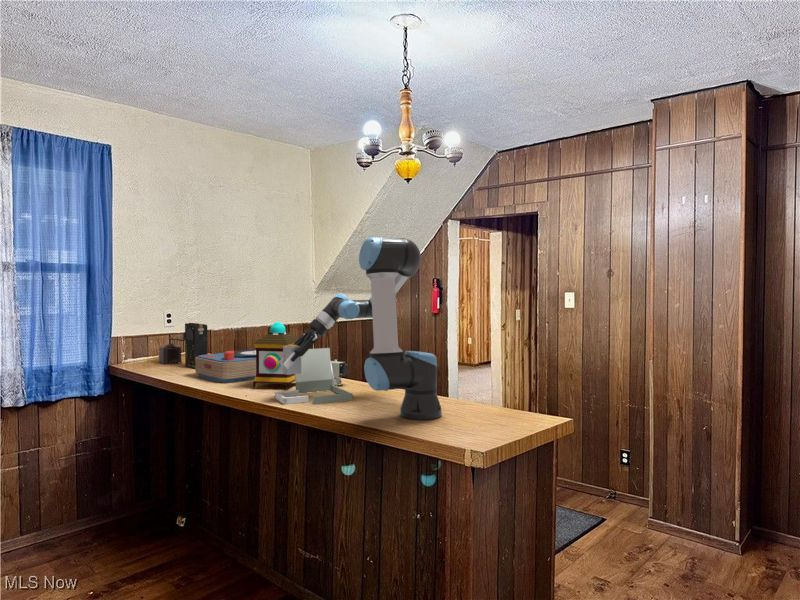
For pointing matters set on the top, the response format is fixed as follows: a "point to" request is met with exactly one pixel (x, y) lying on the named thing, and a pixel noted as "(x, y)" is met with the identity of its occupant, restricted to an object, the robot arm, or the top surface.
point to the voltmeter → (195, 342)
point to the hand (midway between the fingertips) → (283, 365)
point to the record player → (227, 366)
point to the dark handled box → (170, 352)
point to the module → (296, 366)
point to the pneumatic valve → (339, 371)
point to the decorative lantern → (273, 356)
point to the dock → (290, 397)
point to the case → (319, 377)
